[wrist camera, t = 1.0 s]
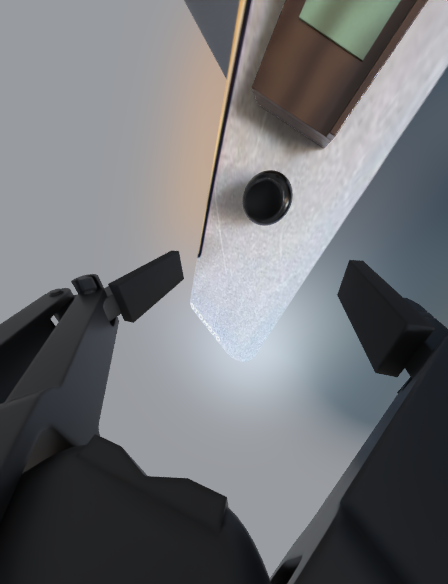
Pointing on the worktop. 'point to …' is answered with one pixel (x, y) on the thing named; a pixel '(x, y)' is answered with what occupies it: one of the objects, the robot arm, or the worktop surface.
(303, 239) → the worktop surface
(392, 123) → the worktop surface
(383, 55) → the wooden plaque with label
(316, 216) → the worktop surface
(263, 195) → the supplement bottle
